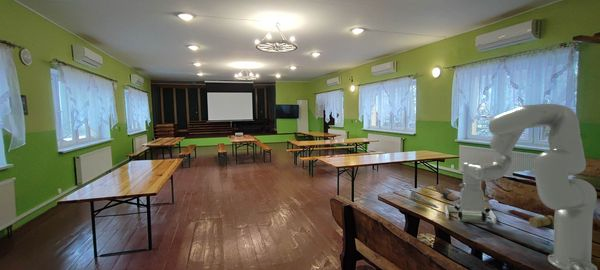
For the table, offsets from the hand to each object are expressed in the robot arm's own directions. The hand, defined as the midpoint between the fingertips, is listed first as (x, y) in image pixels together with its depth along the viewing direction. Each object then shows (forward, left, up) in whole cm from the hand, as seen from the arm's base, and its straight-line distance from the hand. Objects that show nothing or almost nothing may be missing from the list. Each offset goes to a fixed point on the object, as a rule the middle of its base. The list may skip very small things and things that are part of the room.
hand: (471, 219), depth 136 cm
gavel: (+14, -26, -2) cm, 29 cm away
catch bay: (+9, 0, -2) cm, 9 cm away
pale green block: (+4, -1, -2) cm, 5 cm away
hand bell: (+27, -10, -2) cm, 29 cm away
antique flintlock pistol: (+34, +4, -2) cm, 34 cm away
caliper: (+26, +22, -2) cm, 34 cm away
